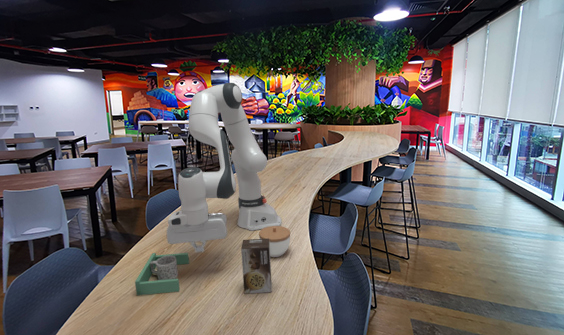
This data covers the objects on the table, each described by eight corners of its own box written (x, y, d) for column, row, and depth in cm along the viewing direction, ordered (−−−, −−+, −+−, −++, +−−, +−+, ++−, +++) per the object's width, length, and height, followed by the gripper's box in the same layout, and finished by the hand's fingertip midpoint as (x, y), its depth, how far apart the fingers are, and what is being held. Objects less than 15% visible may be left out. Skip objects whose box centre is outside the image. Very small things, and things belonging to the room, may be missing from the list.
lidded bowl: (263, 263, 112) (262, 236, 110) (257, 248, 124) (255, 223, 122) (294, 257, 116) (294, 231, 113) (285, 243, 128) (284, 219, 125)
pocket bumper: (189, 262, 114) (187, 250, 113) (178, 291, 97) (177, 277, 95) (154, 264, 113) (152, 253, 112) (136, 295, 95) (134, 281, 94)
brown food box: (271, 281, 101) (270, 237, 98) (271, 292, 95) (270, 247, 91) (245, 282, 101) (242, 238, 97) (243, 294, 95) (240, 248, 91)
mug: (181, 272, 107) (179, 256, 106) (171, 283, 101) (169, 266, 100) (157, 270, 109) (155, 253, 108) (145, 280, 103) (143, 263, 102)
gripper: (226, 208, 105) (229, 243, 109) (167, 214, 103) (172, 250, 106) (225, 215, 99) (229, 252, 103) (162, 221, 97) (168, 259, 100)
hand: (199, 251), depth 104 cm, fingers closed
